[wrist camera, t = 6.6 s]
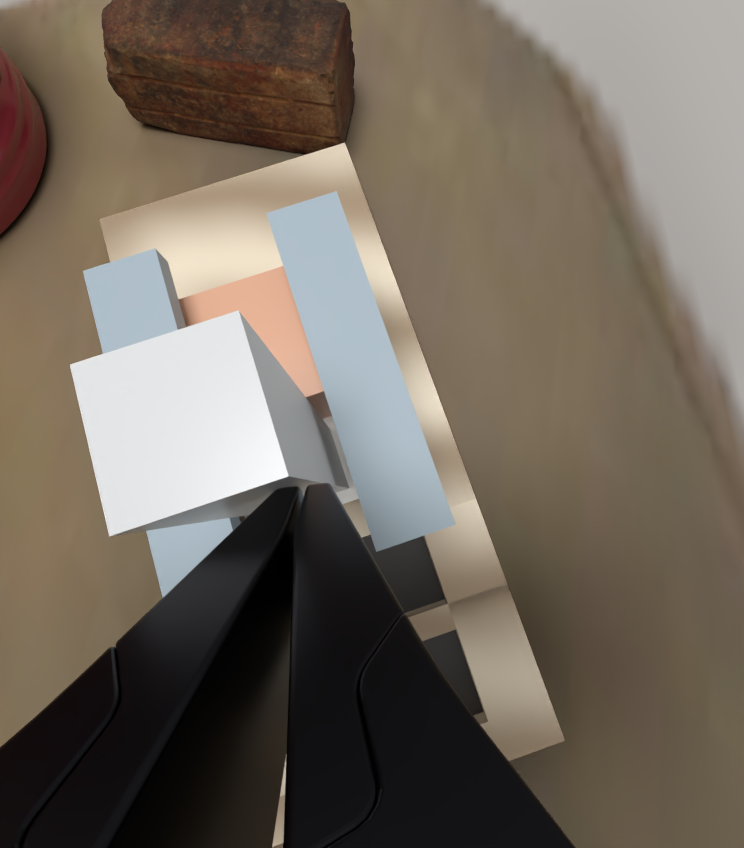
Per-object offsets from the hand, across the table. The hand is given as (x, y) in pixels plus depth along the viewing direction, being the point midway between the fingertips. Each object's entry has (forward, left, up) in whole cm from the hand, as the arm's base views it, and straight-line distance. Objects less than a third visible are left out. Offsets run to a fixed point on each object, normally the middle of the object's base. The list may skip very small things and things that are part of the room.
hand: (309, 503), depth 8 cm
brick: (+20, -1, -12) cm, 23 cm away
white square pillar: (+4, +1, -10) cm, 11 cm away
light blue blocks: (+4, +1, -12) cm, 12 cm away
